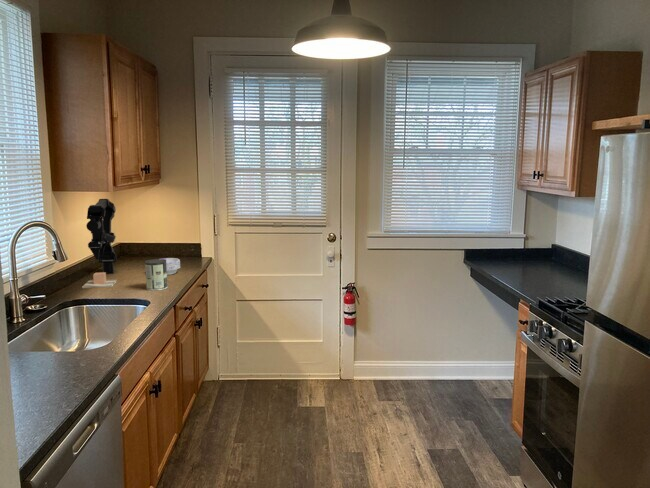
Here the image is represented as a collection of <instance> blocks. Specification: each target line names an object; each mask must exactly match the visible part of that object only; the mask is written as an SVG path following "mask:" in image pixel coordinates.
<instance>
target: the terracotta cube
mask: <svg viewBox="0 0 650 488" xmlns="http://www.w3.org/2000/svg"><path fill="white" fill-rule="evenodd" d="M92 277H93V278H92V280H94V284H105V283H106V280H107V273H106V272H103V271H102V272H95V273H93V276H92Z"/></svg>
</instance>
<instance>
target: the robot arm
mask: <svg viewBox="0 0 650 488" xmlns="http://www.w3.org/2000/svg"><path fill="white" fill-rule="evenodd" d="M115 213H116V206H115V204H114V203H113V202H112V201H110V199H108V198H99V199H98V201H97V202H96V203H95V204H90V205H89V207H88V208H87V214H86V215H87V216H86V220H89V221H88V222H87V223H86V229H87V231H89V232H90V234H91V237H92V238H91V241H88V243H87V247H88V249H89V250H90V251H91V253H92V254H93V256H94V258H95V260H98V263H99V264H102V272H106V274H114V273H115V272H116V270H115V268H114V267H115V266H114V263H117V262H118V261H117V260H118V259H117V254H116V252H115V249H114V248H113V246H112V243H114V242H115V239H116V235H115V232H113V231H112V220H113V219H114V217H115Z"/></svg>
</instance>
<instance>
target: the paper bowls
mask: <svg viewBox="0 0 650 488" xmlns="http://www.w3.org/2000/svg"><path fill="white" fill-rule="evenodd" d="M162 259H164V260H166V269H167V276H170V275H174V274H176V273H177V272H178V269H181V259H179V258H175V257H165V258H162Z"/></svg>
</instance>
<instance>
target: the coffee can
mask: <svg viewBox="0 0 650 488" xmlns="http://www.w3.org/2000/svg"><path fill="white" fill-rule="evenodd" d="M144 264H145V268H144V269H145V282H146V290H147V291H152V292H153V291H154V292H155V291H162V290H166V289H168V275H167V269H166V260H164V259H163V258H155V259H148V260H145V261H144Z"/></svg>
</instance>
